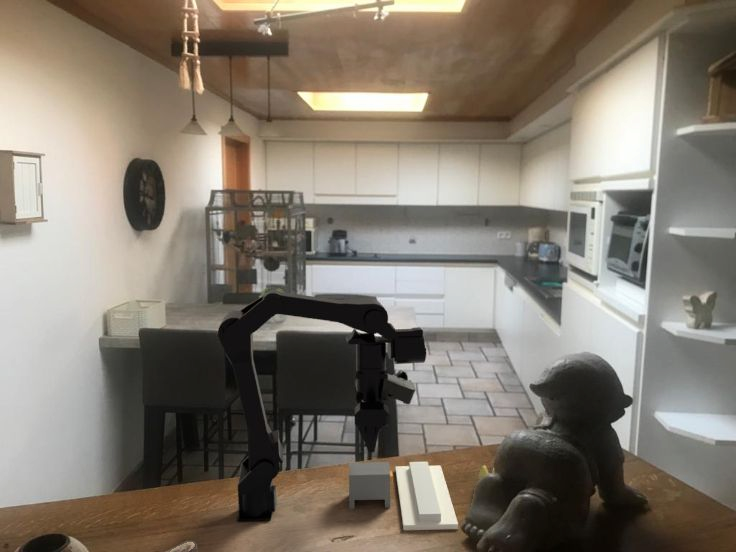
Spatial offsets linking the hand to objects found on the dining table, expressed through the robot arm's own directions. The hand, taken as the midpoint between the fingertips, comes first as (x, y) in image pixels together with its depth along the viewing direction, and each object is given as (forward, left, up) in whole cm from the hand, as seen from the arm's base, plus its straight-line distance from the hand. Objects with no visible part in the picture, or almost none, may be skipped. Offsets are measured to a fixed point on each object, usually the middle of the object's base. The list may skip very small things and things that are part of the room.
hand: (370, 441), depth 111 cm
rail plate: (+11, +1, -13) cm, 17 cm away
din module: (0, 0, -13) cm, 13 cm away
